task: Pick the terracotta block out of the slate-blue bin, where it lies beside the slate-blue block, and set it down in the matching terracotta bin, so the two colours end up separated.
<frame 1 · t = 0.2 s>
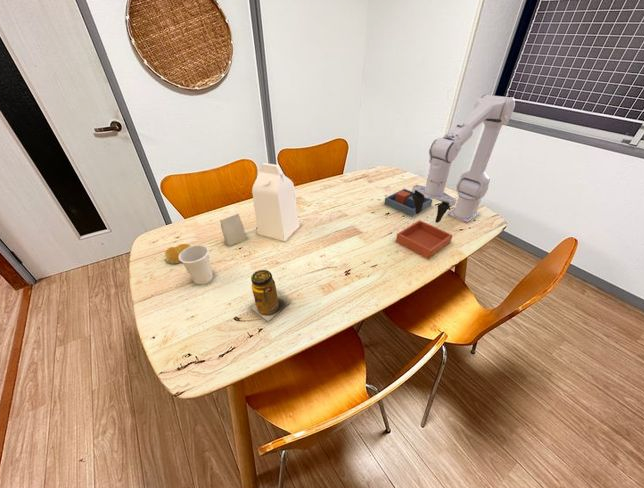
hand: (427, 217, 94), 10 cm above the table, tool pointing down, fingers open, 7 cm apart
terracotta block: (401, 202, 122), point 1 cm above the table, touching slate bin
terracotta bin: (422, 242, 100), on the table
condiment: (271, 306, 78), on the table
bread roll: (180, 257, 96), on the table
milk: (279, 230, 108), on the table
slate bin: (407, 206, 121), on the table
slate block: (413, 207, 119), point 1 cm above the table, touching slate bin
grey wedge block: (235, 240, 103), on the table
dixie cup: (203, 278, 88), on the table
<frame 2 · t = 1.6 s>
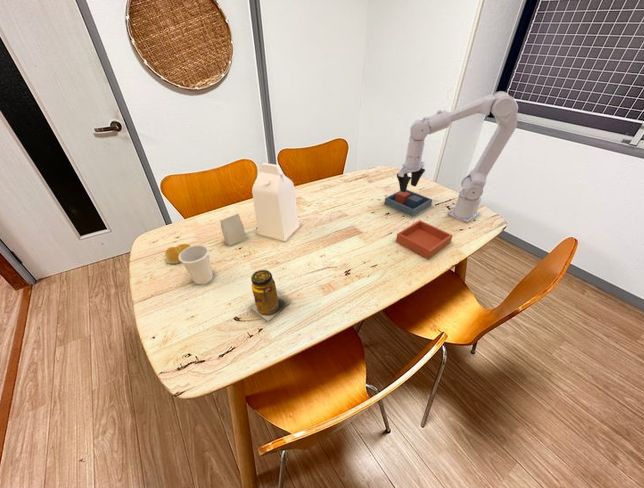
hand: (408, 188, 113), 10 cm above the table, tool pointing down, fingers open, 7 cm apart
nothing on the table moved.
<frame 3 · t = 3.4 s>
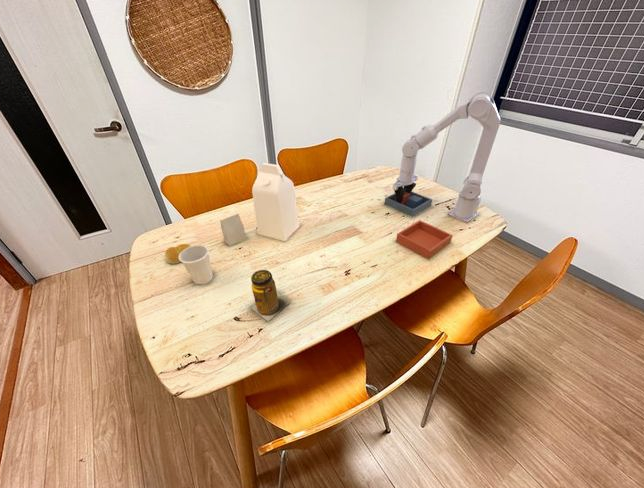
hand: (402, 200, 122), 2 cm above the table, tool pointing down, fingers closed on terracotta block, 4 cm apart
terracotta block: (401, 202, 122), point 1 cm above the table, touching gripper, slate bin
everything else where it was.
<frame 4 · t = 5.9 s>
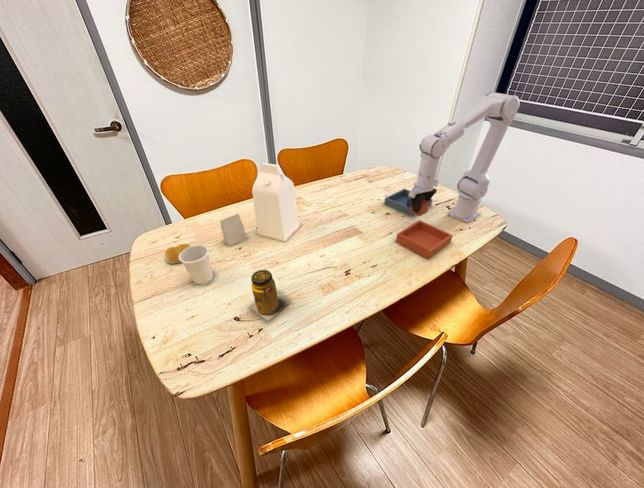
hand: (419, 209, 102), 9 cm above the table, tool pointing down, fingers closed on terracotta block, 4 cm apart
terracotta block: (418, 212, 102), point 7 cm above the table, touching gripper
everything else where it was.
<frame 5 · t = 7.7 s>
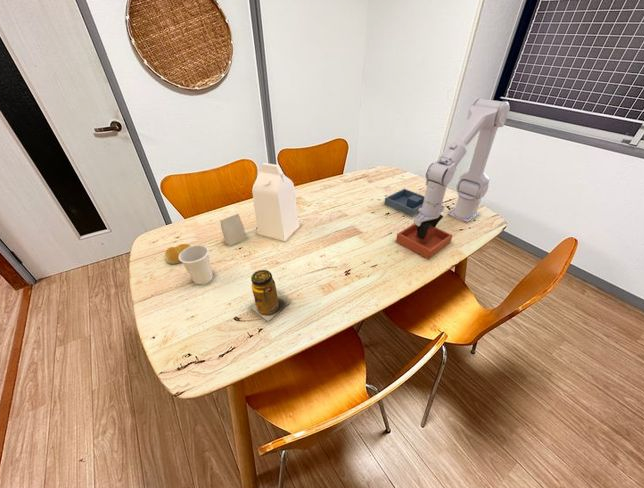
hand: (424, 235, 98), 3 cm above the table, tool pointing down, fingers closed on terracotta block, 4 cm apart
terracotta block: (423, 237, 98), point 2 cm above the table, touching gripper
everything else where it was.
when the fingers open (2 cm above the table, at t = 8.7 s): terracotta block stays where it is, resting on terracotta bin.
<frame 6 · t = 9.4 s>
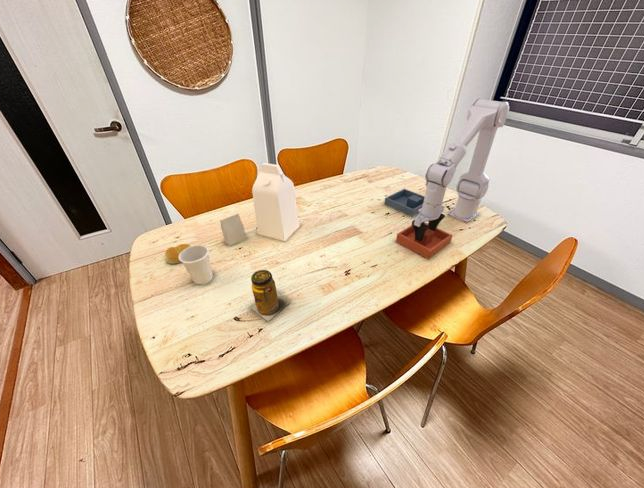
hand: (424, 235, 98), 3 cm above the table, tool pointing down, fingers open, 7 cm apart
terracotta block: (422, 241, 99), point 1 cm above the table, touching terracotta bin
everything else where it was.
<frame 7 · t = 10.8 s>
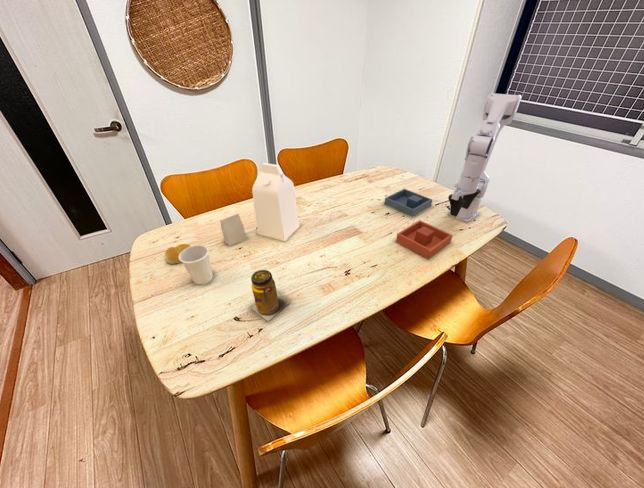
hand: (459, 211, 98), 9 cm above the table, tool pointing down, fingers open, 7 cm apart
nothing on the table moved.
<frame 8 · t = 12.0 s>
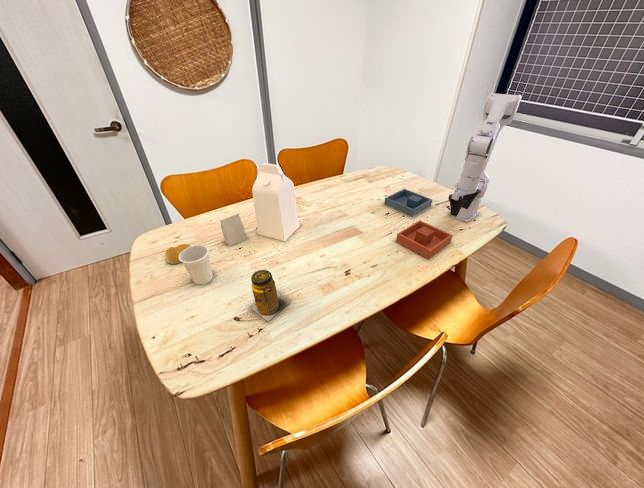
hand: (459, 211, 98), 9 cm above the table, tool pointing down, fingers open, 7 cm apart
nothing on the table moved.
at the end: terracotta block inside the target area in the terracotta bin (0.1 cm from its centre), point 0.6 cm above the terracotta bin's base; slate block inside the target area in the slate bin (3.0 cm from its centre), point 0.6 cm above the slate bin's base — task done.
